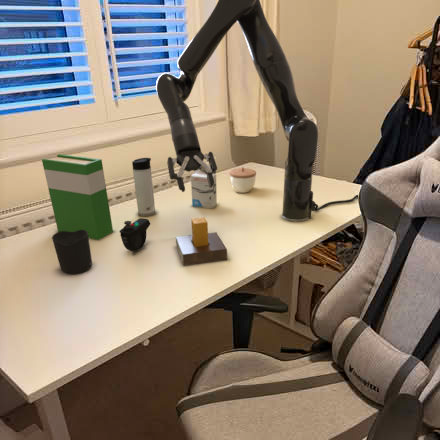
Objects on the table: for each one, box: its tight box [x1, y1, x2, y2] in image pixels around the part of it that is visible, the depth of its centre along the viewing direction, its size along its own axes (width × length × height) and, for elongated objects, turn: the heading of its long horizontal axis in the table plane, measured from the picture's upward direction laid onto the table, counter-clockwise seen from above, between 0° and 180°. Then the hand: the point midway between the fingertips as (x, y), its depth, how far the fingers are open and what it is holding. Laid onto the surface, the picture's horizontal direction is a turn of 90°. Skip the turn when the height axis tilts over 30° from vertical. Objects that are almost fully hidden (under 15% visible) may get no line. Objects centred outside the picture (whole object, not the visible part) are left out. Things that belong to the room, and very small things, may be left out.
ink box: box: [190, 164, 218, 209], centre depth 165 cm, size 9×5×15 cm, turn 71°
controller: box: [119, 217, 152, 252], centre depth 134 cm, size 4×12×10 cm, turn 157°
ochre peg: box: [190, 216, 209, 247], centre depth 130 cm, size 4×4×10 cm
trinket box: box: [229, 167, 257, 194], centre depth 181 cm, size 11×11×9 cm
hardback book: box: [41, 154, 114, 241], centre depth 143 cm, size 18×7×24 cm, turn 63°
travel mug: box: [131, 157, 156, 217], centre depth 158 cm, size 6×7×20 cm
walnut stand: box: [175, 231, 228, 266], centre depth 132 cm, size 13×13×4 cm
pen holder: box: [51, 230, 93, 275], centre depth 124 cm, size 9×9×10 cm
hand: (197, 188), depth 131 cm, fingers open, 8 cm apart
